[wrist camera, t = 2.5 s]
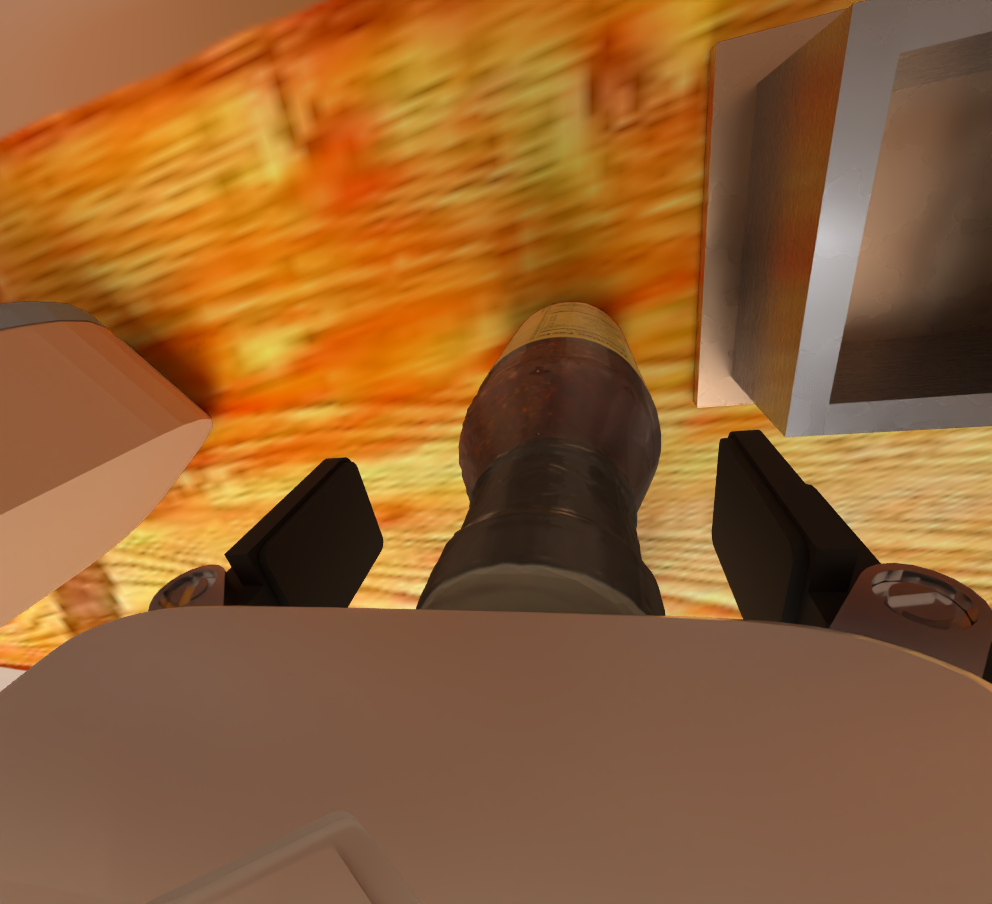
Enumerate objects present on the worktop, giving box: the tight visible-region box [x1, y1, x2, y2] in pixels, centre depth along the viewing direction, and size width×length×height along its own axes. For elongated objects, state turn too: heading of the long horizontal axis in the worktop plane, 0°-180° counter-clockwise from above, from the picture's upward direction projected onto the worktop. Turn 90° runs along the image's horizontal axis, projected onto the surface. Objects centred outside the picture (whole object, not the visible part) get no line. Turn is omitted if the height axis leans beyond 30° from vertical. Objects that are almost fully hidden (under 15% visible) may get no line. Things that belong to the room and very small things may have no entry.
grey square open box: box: [693, 0, 992, 437], centre depth 15 cm, size 15×15×8 cm
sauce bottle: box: [416, 302, 665, 616], centre depth 15 cm, size 6×6×20 cm
